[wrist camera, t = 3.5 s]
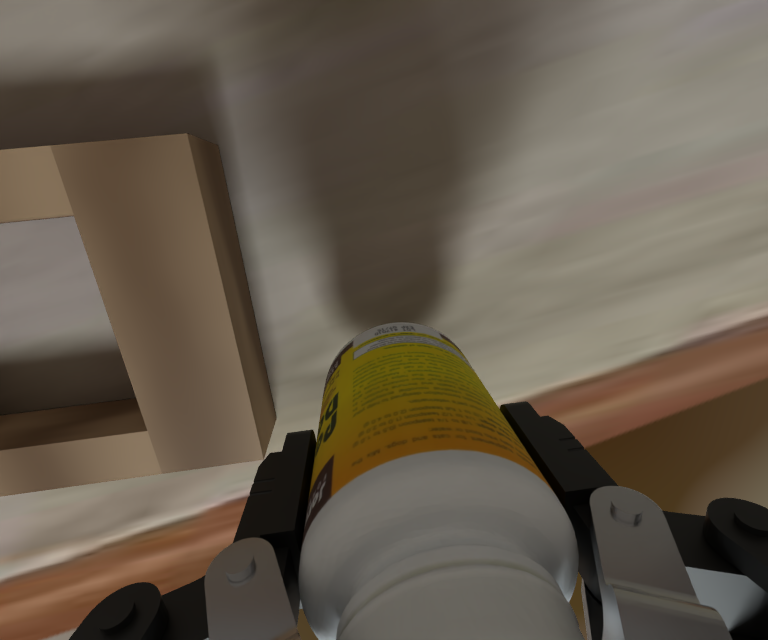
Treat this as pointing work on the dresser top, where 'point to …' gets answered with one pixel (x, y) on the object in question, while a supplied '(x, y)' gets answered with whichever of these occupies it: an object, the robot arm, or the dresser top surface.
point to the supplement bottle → (428, 505)
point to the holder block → (145, 314)
